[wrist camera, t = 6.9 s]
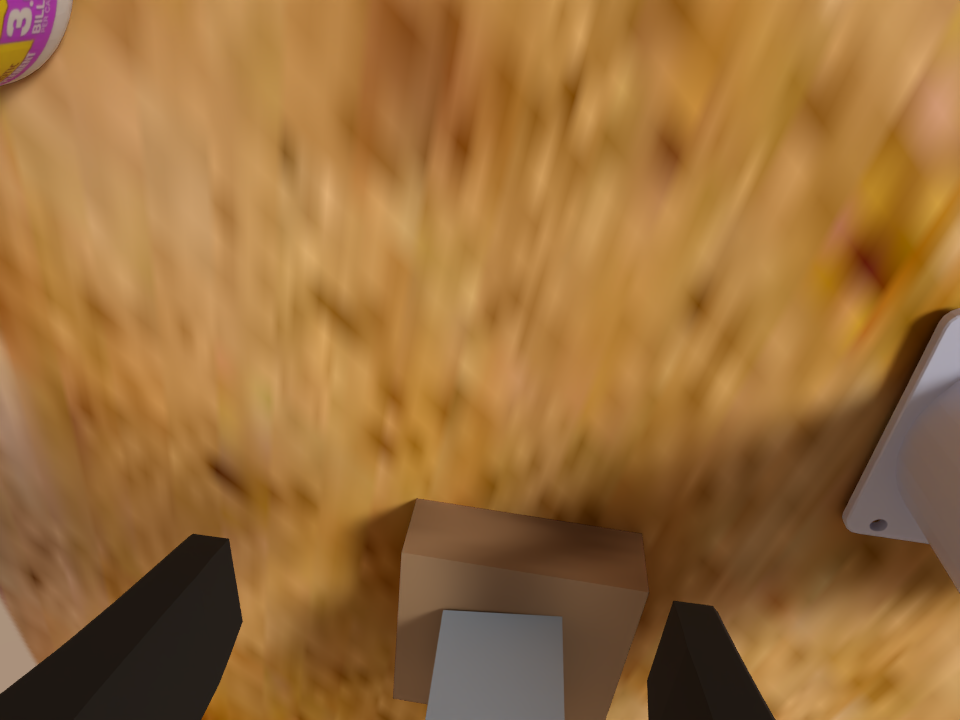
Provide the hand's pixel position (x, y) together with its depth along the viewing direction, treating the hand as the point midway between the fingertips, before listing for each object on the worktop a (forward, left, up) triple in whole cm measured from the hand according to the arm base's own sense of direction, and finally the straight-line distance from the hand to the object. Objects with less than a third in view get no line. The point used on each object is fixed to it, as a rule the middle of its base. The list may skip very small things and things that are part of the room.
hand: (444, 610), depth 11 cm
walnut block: (-2, +12, -11) cm, 16 cm away
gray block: (-2, +12, -8) cm, 14 cm away
